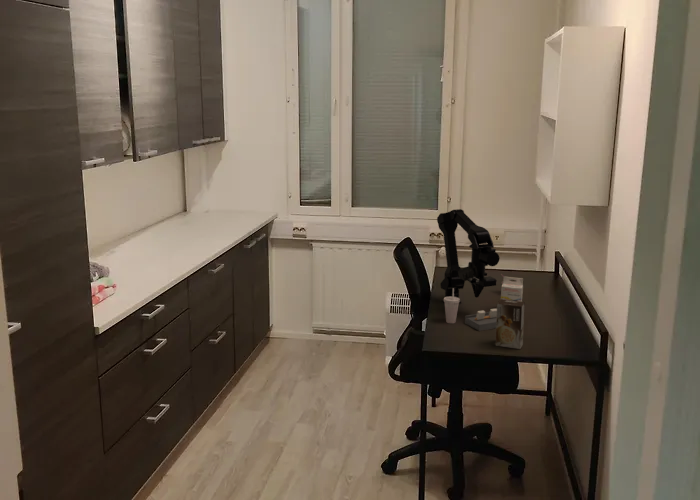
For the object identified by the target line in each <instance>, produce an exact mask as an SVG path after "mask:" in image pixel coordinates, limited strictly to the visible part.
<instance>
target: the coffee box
mask: <svg viewBox="0 0 700 500" xmlns="http://www.w3.org/2000/svg"><path fill="white" fill-rule="evenodd" d="M525 305H526V303H525V301H522V302H520V301H512V300H503V299H501V298H500V299H499V300H498V302H497V304H496V309H497V321H496V328H495V346H496V347H504V348H511V349H517V350H521V348H522V347H523V345H524V321H525Z"/></svg>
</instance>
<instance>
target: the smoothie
mask: <svg viewBox="0 0 700 500" xmlns="http://www.w3.org/2000/svg"><path fill="white" fill-rule="evenodd" d="M443 299H444V302H443V303H444V313H445V322H446V323H447V324H455V323H456V322H457V316H458V315H457V314H458V310H459V304H460V303H459V302H460V301H461V299H460V297H459V298H458V297H454V288H453V294H452V296H449V297H445V296H444V298H443Z"/></svg>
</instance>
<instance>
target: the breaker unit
mask: <svg viewBox="0 0 700 500" xmlns="http://www.w3.org/2000/svg"><path fill="white" fill-rule="evenodd" d="M489 312H490V311H487V312H486V311H485V316H489ZM476 315H477V313H473V314H467V315H465V316H464V324H466V325H468V326H469V327H471V328H473V329H474V330H477V331H479V332H482V331H487V330H488V331H489V330H493V329H496V321H497V317H493V318H487V319H481V320H475V318H476ZM485 316H484V317H485Z"/></svg>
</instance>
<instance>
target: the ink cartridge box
mask: <svg viewBox="0 0 700 500" xmlns="http://www.w3.org/2000/svg"><path fill="white" fill-rule="evenodd" d="M502 278H503V279H502V282H503V283H501V284H502V285H501V289H500V299H503V300H512V301H520V302H523V292H524V284H523V281H524V278H523V277H513V276H505V277H502ZM513 280H514V281H513Z"/></svg>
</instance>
